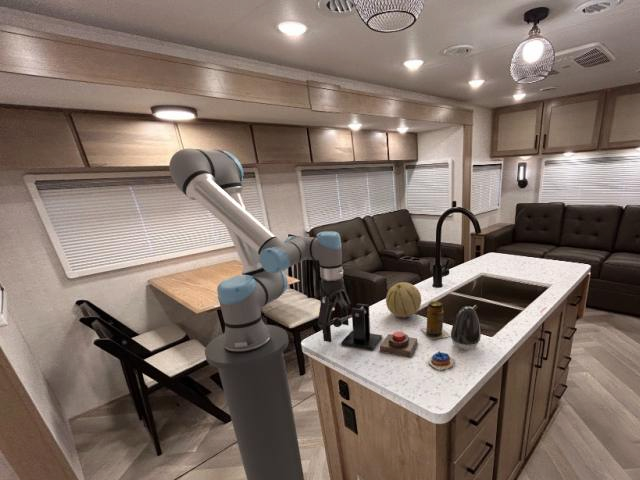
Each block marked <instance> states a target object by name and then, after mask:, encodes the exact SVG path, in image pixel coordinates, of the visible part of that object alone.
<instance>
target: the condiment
mask: <svg viewBox="0 0 640 480" xmlns="http://www.w3.org/2000/svg"><path fill="white" fill-rule="evenodd" d="M443 324H444V305H443V303H442V302H441V301H437V300H433V301H432V300H431V301H430V302H429V303H428V308H427V310H426V328H421V330H422V332H423V333H424V335H426V336H427V337H428V338H429V339H430V340H437V339H438V340H439V339H443V338H448V337H449V335H448V334H447V333H446V332H445V331H444V330H443V327H444V325H443Z"/></svg>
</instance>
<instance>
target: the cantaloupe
mask: <svg viewBox="0 0 640 480" xmlns="http://www.w3.org/2000/svg"><path fill="white" fill-rule="evenodd" d="M421 295H422V294H421V293H420V291H419V289H418V287H416V286H415V285H414V284H412V283H410V282H405V281H404V282H398V283H395V284H394V285H392V286H391V287H390V288H389V289H388V291H387V292H386V297H385V305H386V307H387V309H388V311H389V312H390V313H391V314H392V315H394V316H396V317H398V318H409V317H412V316H413V315H415V314H416V313H417V312H419V310H420V308H421V304H422V296H421Z"/></svg>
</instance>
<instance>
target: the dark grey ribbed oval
mask: <svg viewBox="0 0 640 480" xmlns="http://www.w3.org/2000/svg"><path fill="white" fill-rule="evenodd" d="M477 308H479V307H478V304H475V305H473V306H469V305H466V306H462V307H461V308H460V310H459V311H458V312H457V313H456V316H455V318H454V321H453V324H452V327H451V331H450V338H451V341H452V343H453V345H454V346H455V347H456V348H457V349H459V350H462V351H470V350H473V349H475V348H476V347H477V346H478V344H479V342H480V341H481V338H482V337H481V336H482V334H481V333H482V332H481V325H480V324H481V323H480V320H479V316H478V314H477V311H476V310H477Z"/></svg>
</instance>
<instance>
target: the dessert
mask: <svg viewBox="0 0 640 480" xmlns="http://www.w3.org/2000/svg"><path fill="white" fill-rule="evenodd" d="M428 362H429V365H430V366H431V367H433V368H434V369H436V370H438V371H443V370H446V369H450V368H451V367H453V366H454V360H453V359H452V358H451V357H450V355H449V353H446V352H441V351H440V350H438V352H435V353H434V354H433V355H432V356H430V357H429V359H428Z"/></svg>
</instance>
